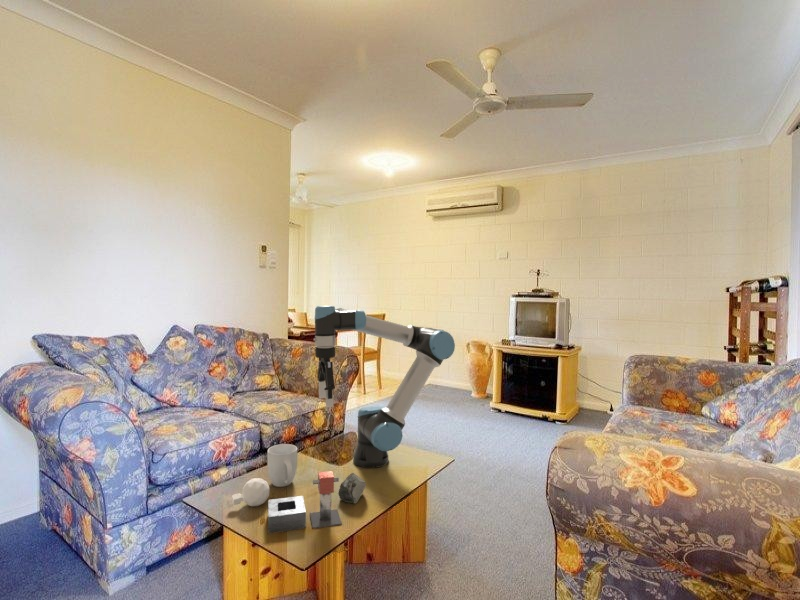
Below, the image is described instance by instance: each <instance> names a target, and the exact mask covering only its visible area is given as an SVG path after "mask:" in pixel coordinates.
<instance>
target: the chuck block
mask: <svg viewBox="0 0 800 600" xmlns="http://www.w3.org/2000/svg"><path fill="white" fill-rule="evenodd" d="M267 503H268V505H267V506H268V507H267V508H268V509H267V511H268V512H267V513H268V514H267V521H268V526H267V529H268V533H267V534H274V533H280V532H281V533H282V532H288V531H294V530H303V529H306V528H307V526H306V525H307V524H306V523H307V522H306V521H307V511H306V505H305V499H304V495H298V496H297V495H296V496H288V497H281V498H274V499H273V498H272V499H268V501H267Z"/></svg>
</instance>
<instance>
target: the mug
mask: <svg viewBox="0 0 800 600" xmlns="http://www.w3.org/2000/svg"><path fill="white" fill-rule="evenodd" d="M266 455H267V457H266V458H267V459H266V463H267V464H266V465H267V472H268V478H269V480H270V482H271V484H272V485H273V486H274V487H277V488H284V487H287V486H289V485H291V483H292V482H293V481H294V478H295V476H296V473H297V468H298V446H296V445H294V444H290V443H281V444H280V443H279V444H275V445H273V446H270V447H269V448H268V449H267V454H266Z"/></svg>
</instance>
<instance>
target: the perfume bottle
mask: <svg viewBox="0 0 800 600" xmlns="http://www.w3.org/2000/svg"><path fill="white" fill-rule="evenodd" d="M241 490H242V491H241V493H239V492H238V493H235V494H232V495H231V497H232V504H233V506H236V505H238V504H239V505H240V504H242V502H244V504H246V505H247V506H250V507H259V506H261V505H263V504H264V503H266V501H267V499H268V498H269V496H270V485H269V483H268V482H267V481H266V480H265V479H263V478H261V477H260V478H259V477H257V478H255V477H253V478H251V479H249V480H247V482H246V483H245V484H244V486H243V487H242V489H241Z"/></svg>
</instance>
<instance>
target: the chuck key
mask: <svg viewBox="0 0 800 600" xmlns="http://www.w3.org/2000/svg"><path fill="white" fill-rule="evenodd" d="M317 473H318V475H317V477H318V478H317V479H313V480H312V484H313V485H317V488H318V489H317V490H318V493H319V512H320V520H322V521H328V520H330V519H331V510H332V493H333V494H334V492H335V483H336V482H337V483H338V482H340V479H339V477H335V476H334V473H333V471H332V470H331V471H323V472H317Z"/></svg>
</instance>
